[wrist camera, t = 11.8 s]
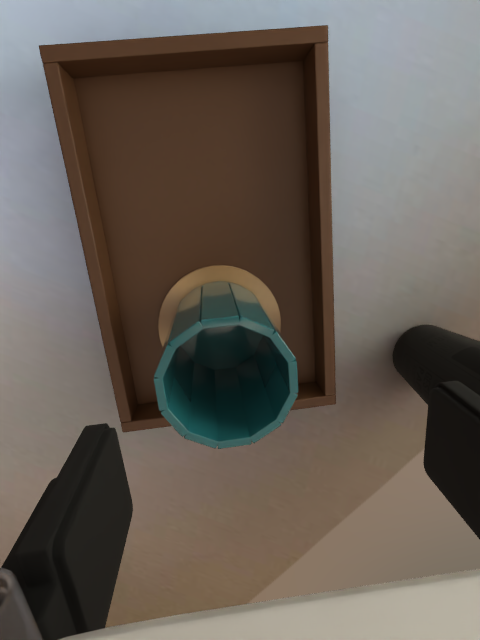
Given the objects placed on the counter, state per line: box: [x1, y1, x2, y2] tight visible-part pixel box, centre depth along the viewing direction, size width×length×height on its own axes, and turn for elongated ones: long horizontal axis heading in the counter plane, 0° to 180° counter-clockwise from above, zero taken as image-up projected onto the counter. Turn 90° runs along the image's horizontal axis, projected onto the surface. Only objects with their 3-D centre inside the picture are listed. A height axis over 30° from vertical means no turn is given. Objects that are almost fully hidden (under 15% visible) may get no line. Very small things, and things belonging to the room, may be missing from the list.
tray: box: [39, 25, 336, 432], centre depth 24 cm, size 24×16×3 cm, turn 5°
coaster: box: [158, 265, 281, 346], centre depth 27 cm, size 9×9×1 cm
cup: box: [153, 281, 299, 449], centre depth 22 cm, size 7×7×10 cm
